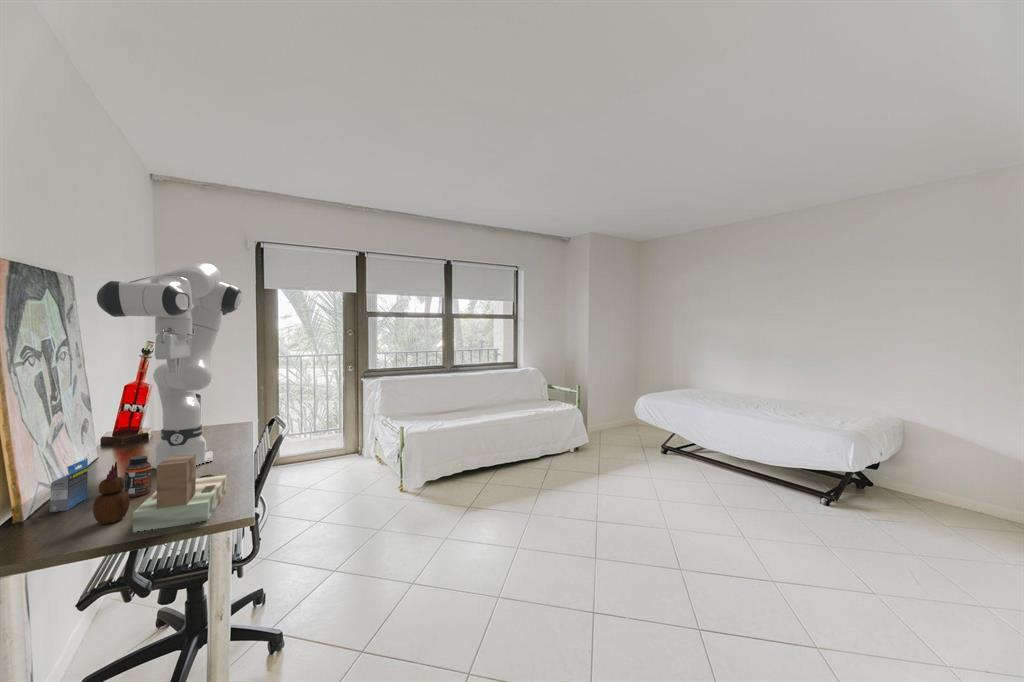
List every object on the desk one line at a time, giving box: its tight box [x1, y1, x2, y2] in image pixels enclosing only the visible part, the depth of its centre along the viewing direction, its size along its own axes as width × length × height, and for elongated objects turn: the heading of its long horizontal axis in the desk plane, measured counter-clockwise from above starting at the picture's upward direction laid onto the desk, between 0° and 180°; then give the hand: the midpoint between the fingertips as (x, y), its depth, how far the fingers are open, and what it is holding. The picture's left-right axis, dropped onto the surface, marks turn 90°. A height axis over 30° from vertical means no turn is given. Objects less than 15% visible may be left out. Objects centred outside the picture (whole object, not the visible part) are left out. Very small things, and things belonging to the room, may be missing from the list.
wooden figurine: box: [92, 461, 131, 525], centre depth 104 cm, size 7×6×15 cm
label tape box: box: [49, 457, 89, 513], centre depth 113 cm, size 9×4×12 cm, turn 22°
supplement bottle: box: [124, 455, 152, 498], centre depth 122 cm, size 6×6×11 cm
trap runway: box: [132, 474, 228, 533], centre depth 112 cm, size 23×15×5 cm, turn 25°
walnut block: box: [156, 454, 197, 509], centre depth 105 cm, size 8×6×11 cm
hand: (173, 373), depth 124 cm, fingers closed
